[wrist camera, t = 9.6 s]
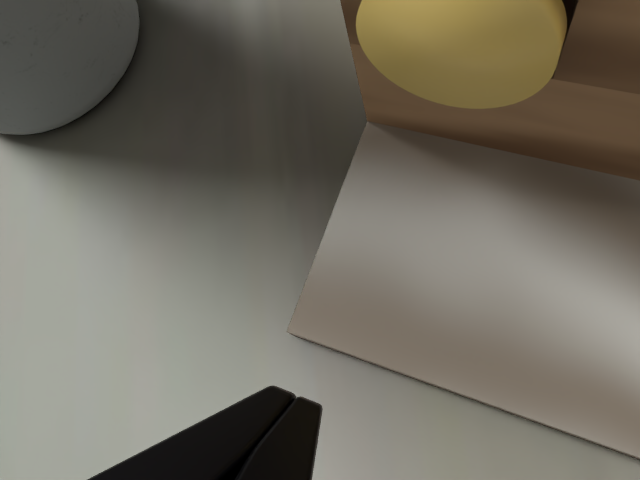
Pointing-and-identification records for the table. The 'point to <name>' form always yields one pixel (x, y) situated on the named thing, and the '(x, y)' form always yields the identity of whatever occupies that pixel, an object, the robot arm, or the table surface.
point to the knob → (464, 47)
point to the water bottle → (61, 59)
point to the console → (498, 238)
